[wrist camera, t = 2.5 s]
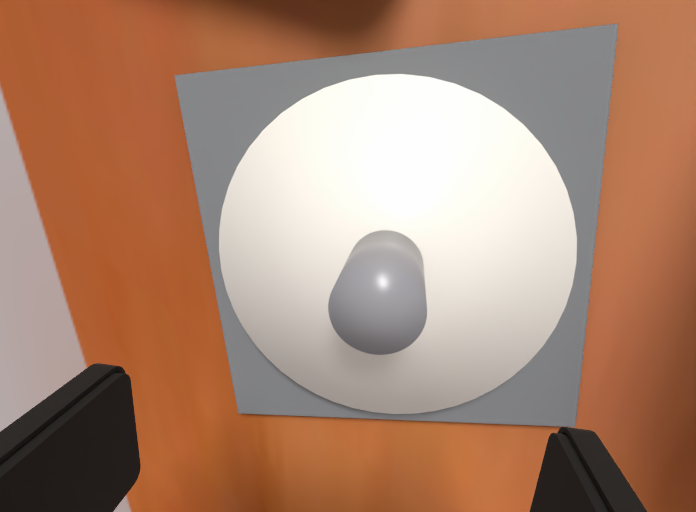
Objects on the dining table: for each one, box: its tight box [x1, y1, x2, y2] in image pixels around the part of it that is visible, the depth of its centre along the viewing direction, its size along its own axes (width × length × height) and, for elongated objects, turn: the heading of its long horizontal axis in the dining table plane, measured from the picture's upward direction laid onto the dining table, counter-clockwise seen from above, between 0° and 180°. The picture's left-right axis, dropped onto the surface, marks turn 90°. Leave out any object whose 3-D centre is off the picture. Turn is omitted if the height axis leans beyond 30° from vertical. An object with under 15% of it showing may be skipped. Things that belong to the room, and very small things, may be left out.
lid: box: [219, 74, 577, 414], centre depth 17 cm, size 17×17×6 cm
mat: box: [174, 24, 618, 427], centre depth 20 cm, size 19×19×1 cm
